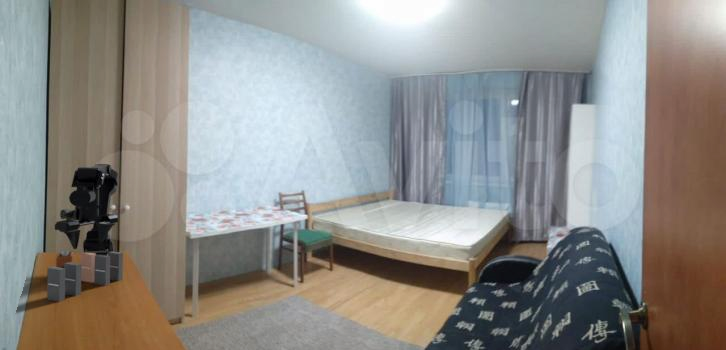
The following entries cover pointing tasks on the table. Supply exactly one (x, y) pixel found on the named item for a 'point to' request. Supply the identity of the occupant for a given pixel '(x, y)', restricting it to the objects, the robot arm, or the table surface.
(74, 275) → the domino
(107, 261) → the domino
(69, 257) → the battery
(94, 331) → the table surface
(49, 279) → the domino
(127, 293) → the table surface
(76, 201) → the robot arm
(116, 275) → the domino
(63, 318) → the table surface
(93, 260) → the domino
